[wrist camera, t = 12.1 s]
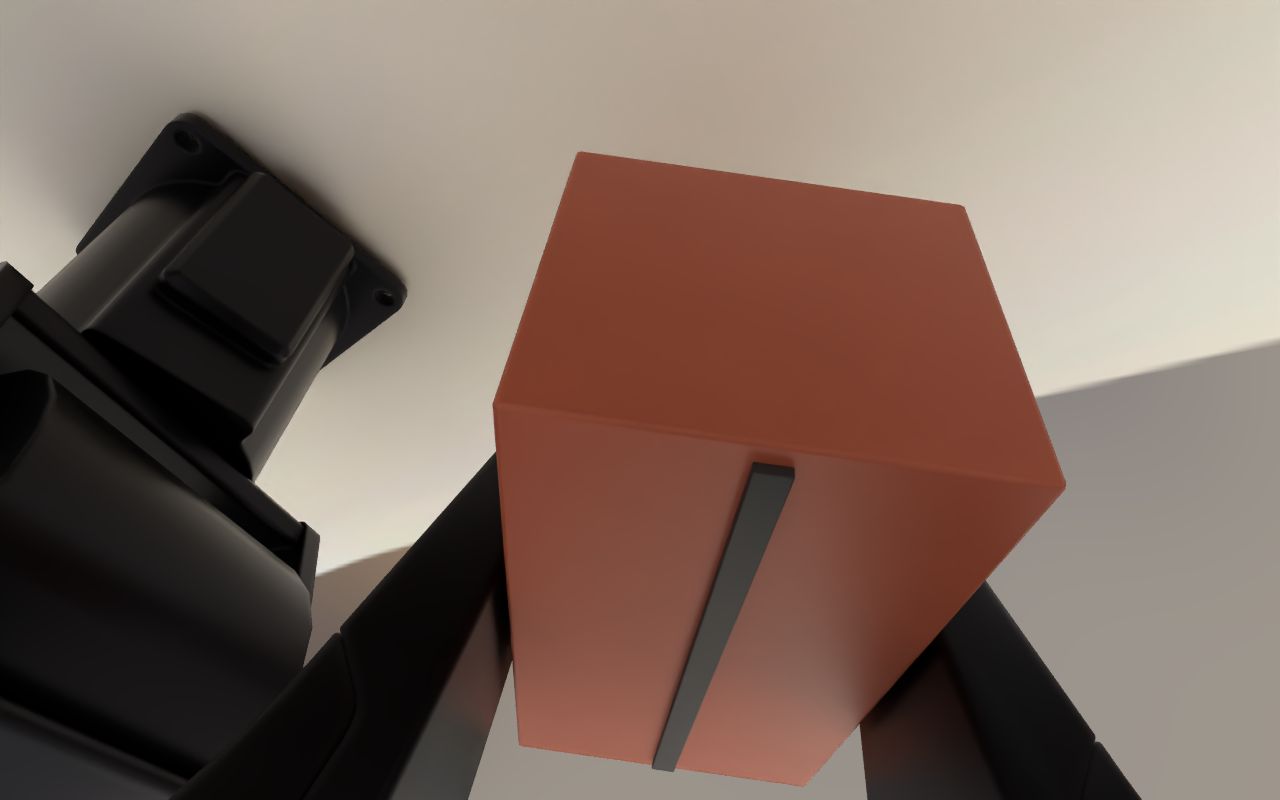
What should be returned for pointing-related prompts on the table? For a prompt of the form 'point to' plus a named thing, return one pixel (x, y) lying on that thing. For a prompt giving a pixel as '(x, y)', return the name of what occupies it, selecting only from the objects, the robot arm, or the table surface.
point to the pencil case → (750, 462)
